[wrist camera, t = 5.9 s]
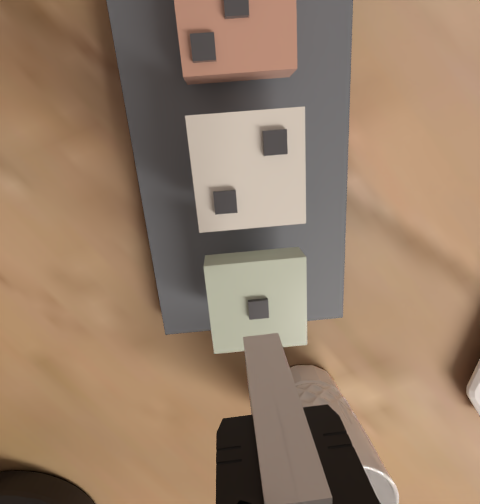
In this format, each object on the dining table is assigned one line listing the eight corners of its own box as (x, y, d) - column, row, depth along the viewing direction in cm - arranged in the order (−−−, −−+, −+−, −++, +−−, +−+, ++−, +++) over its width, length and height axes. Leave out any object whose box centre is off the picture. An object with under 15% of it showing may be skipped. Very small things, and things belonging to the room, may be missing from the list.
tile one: (214, 336, 22) (214, 357, 19) (205, 255, 20) (203, 268, 17) (299, 327, 22) (308, 347, 20) (298, 246, 20) (307, 258, 18)
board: (169, 321, 26) (165, 334, 24) (110, -32, 18) (97, -53, 16) (334, 305, 26) (342, 317, 24) (341, -47, 19) (355, -69, 17)
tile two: (201, 224, 19) (198, 234, 17) (189, 119, 17) (184, 115, 15) (297, 216, 19) (307, 224, 17) (295, 111, 17) (306, 105, 15)
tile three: (187, 84, 18) (182, 75, 16) (172, -45, 16) (164, -75, 14) (289, 77, 18) (298, 67, 16) (286, -52, 16) (296, -83, 14)
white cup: (252, 367, 28) (268, 478, 18) (338, 350, 28) (398, 453, 18) (266, 432, 30) (286, 560, 21) (345, 417, 30) (400, 538, 21)
